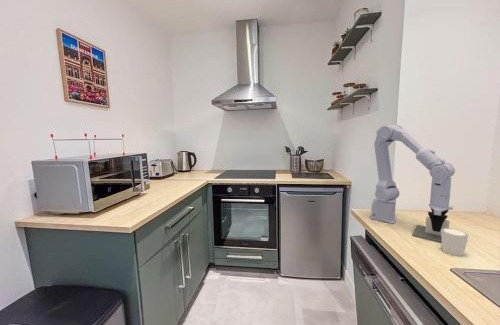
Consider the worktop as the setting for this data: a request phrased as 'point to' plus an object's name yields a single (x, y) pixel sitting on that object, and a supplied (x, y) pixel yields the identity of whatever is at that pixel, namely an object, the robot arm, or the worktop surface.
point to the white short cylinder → (453, 241)
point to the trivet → (426, 234)
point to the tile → (429, 226)
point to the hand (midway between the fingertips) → (437, 228)
